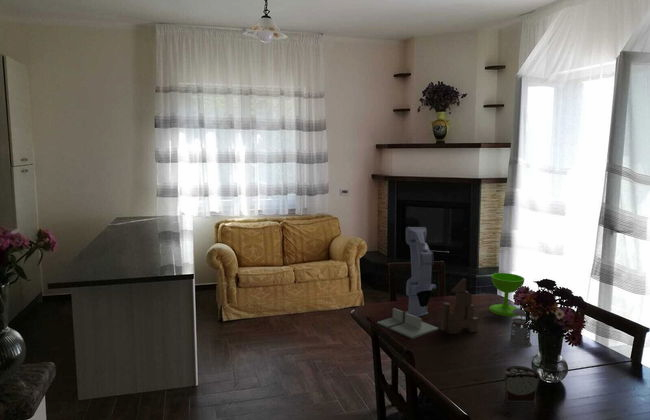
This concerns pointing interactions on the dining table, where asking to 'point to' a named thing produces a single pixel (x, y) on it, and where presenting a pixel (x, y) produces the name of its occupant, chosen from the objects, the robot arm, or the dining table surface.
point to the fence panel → (413, 320)
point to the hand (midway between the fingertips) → (423, 306)
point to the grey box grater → (520, 331)
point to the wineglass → (507, 285)
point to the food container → (520, 384)
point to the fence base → (399, 315)
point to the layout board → (407, 328)
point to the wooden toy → (459, 311)
